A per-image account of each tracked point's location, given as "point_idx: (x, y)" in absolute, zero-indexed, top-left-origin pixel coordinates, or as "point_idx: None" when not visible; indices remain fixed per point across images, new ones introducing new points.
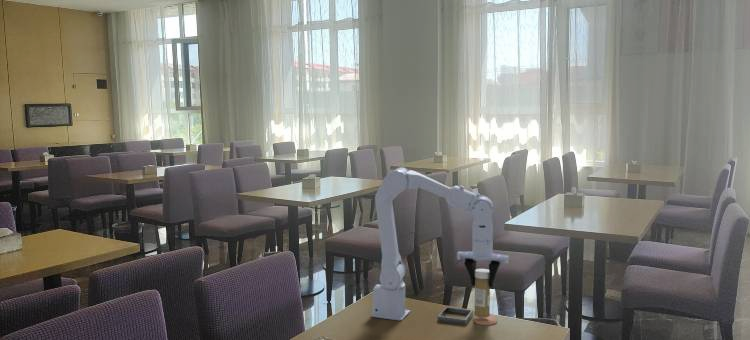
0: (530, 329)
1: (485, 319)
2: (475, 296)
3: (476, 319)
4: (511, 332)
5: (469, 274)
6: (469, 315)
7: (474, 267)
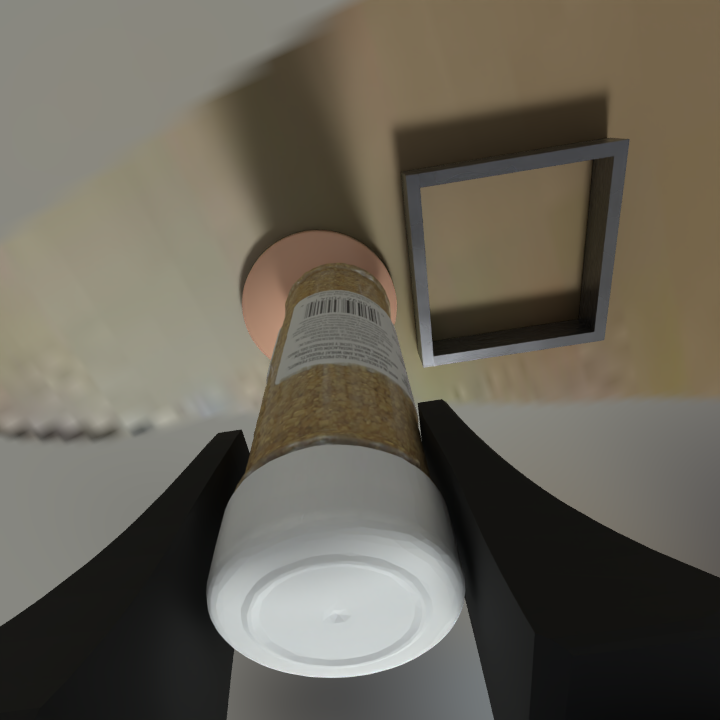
0: (28, 311)
1: None
2: (382, 334)
3: None
4: (87, 205)
5: (516, 471)
6: (415, 277)
7: (488, 640)
